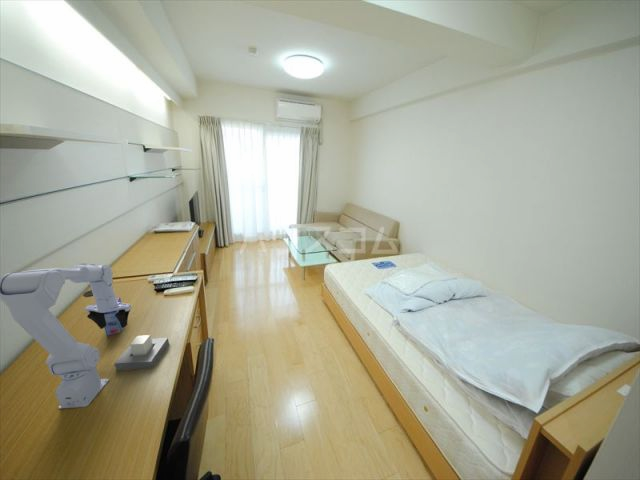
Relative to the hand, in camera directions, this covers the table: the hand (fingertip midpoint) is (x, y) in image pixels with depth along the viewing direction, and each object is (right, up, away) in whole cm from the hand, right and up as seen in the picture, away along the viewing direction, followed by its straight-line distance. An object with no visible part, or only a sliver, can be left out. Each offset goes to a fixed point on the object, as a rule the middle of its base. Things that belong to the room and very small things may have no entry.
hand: (114, 326), depth 93 cm
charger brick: (+13, -10, -2) cm, 16 cm away
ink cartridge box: (-10, -5, +14) cm, 18 cm away
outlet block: (+13, -11, -2) cm, 17 cm away
